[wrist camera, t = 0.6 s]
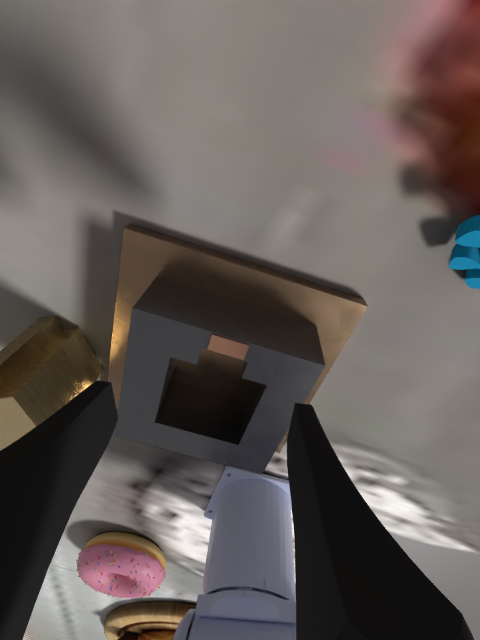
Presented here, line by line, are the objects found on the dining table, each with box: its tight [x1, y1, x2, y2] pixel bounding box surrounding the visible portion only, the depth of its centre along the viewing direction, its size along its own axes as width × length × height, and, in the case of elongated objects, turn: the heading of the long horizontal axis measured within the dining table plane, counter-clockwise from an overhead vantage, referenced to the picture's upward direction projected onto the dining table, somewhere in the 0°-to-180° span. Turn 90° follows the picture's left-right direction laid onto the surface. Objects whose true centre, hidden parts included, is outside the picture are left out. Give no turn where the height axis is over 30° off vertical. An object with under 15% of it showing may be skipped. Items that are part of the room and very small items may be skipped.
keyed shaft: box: [0, 316, 103, 449], centre depth 21 cm, size 5×4×7 cm
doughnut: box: [76, 532, 166, 598], centre depth 40 cm, size 11×11×4 cm
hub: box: [107, 224, 368, 475], centre depth 21 cm, size 15×15×5 cm
